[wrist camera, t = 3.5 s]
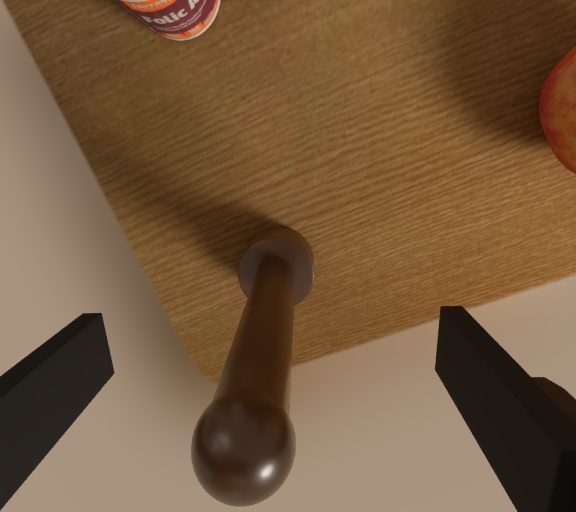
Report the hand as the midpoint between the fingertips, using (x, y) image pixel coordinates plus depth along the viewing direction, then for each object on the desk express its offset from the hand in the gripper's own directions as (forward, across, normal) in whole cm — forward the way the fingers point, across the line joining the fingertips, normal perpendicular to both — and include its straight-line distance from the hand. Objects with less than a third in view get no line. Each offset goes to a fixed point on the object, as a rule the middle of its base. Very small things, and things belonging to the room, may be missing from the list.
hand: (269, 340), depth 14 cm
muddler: (+10, 0, 0) cm, 10 cm away
